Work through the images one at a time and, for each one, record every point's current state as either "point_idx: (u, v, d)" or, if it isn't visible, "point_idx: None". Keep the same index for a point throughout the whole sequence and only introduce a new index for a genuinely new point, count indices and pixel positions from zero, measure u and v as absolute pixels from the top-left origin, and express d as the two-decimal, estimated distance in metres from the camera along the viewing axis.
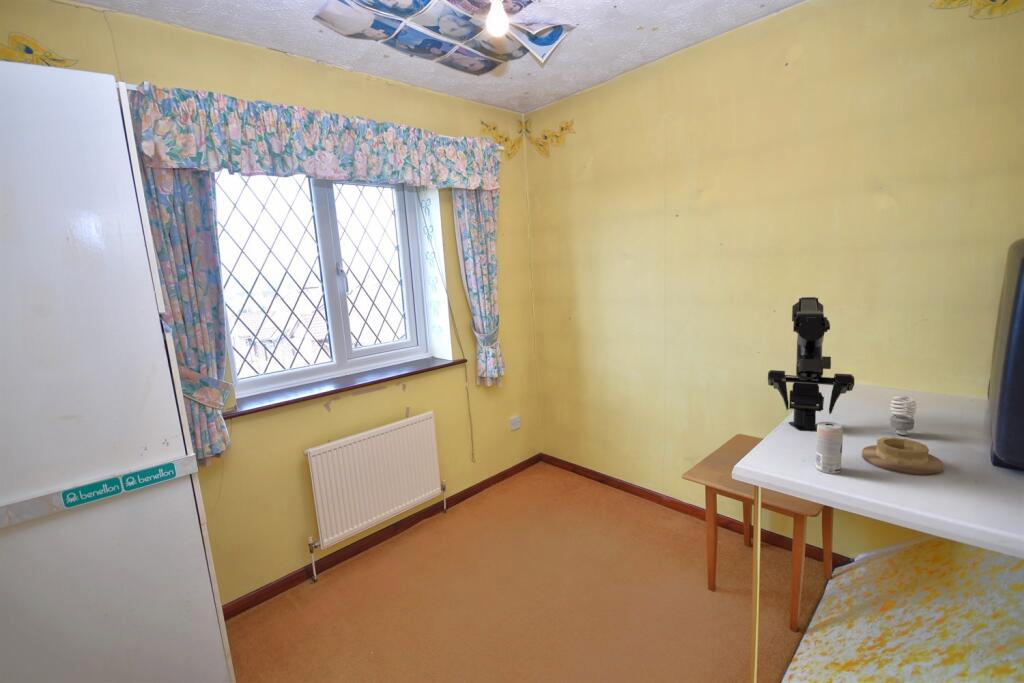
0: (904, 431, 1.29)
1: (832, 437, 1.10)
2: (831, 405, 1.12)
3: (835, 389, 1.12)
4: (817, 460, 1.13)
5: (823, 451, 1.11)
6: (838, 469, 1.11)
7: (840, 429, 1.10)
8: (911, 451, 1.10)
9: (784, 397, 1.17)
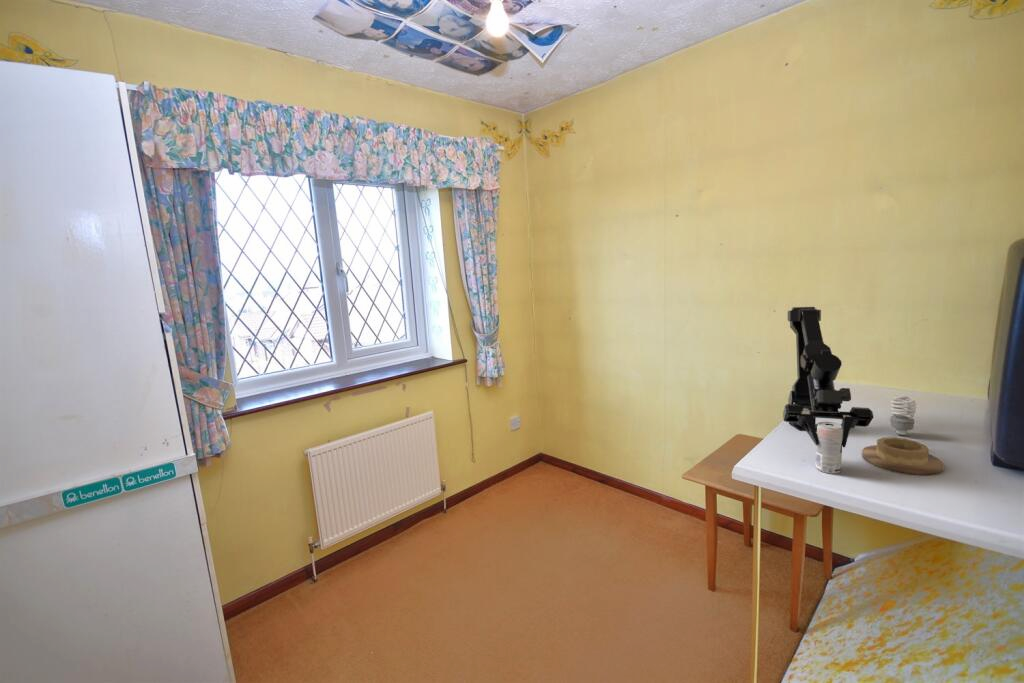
0: (904, 431, 1.29)
1: (832, 437, 1.10)
2: (844, 438, 1.10)
3: (846, 421, 1.11)
4: (817, 460, 1.13)
5: (823, 451, 1.11)
6: (838, 469, 1.11)
7: (840, 429, 1.10)
8: (911, 451, 1.10)
9: (812, 431, 1.13)
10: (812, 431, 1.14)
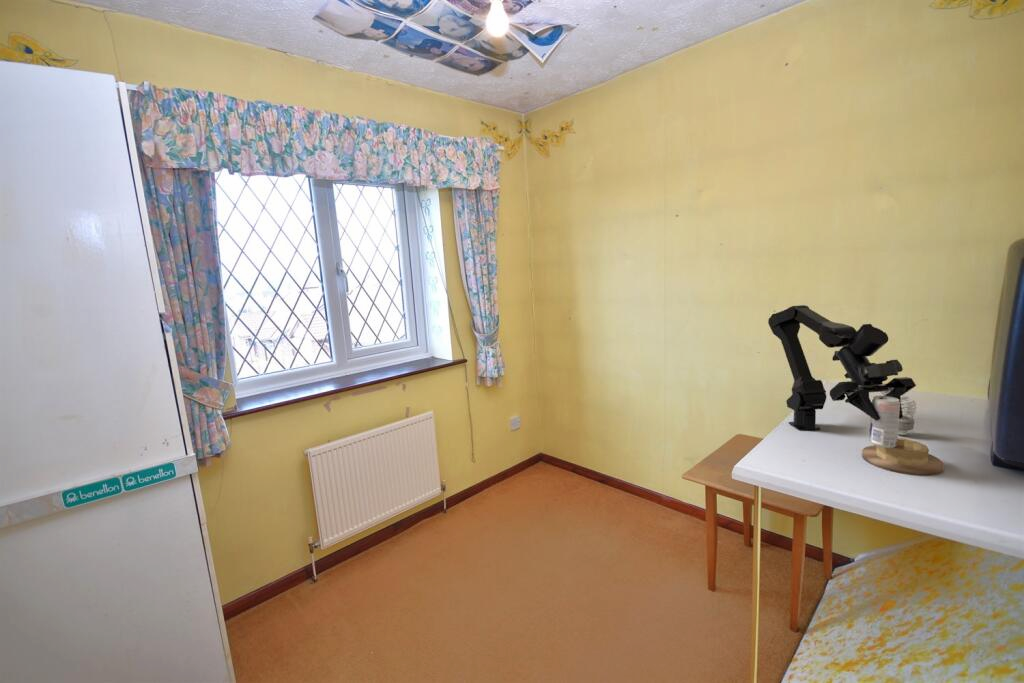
0: (904, 431, 1.29)
1: (895, 410, 1.08)
2: None
3: (896, 392, 1.11)
4: (876, 436, 1.11)
5: (885, 426, 1.09)
6: (896, 441, 1.10)
7: None
8: (911, 451, 1.10)
9: (871, 407, 1.11)
10: (871, 407, 1.11)
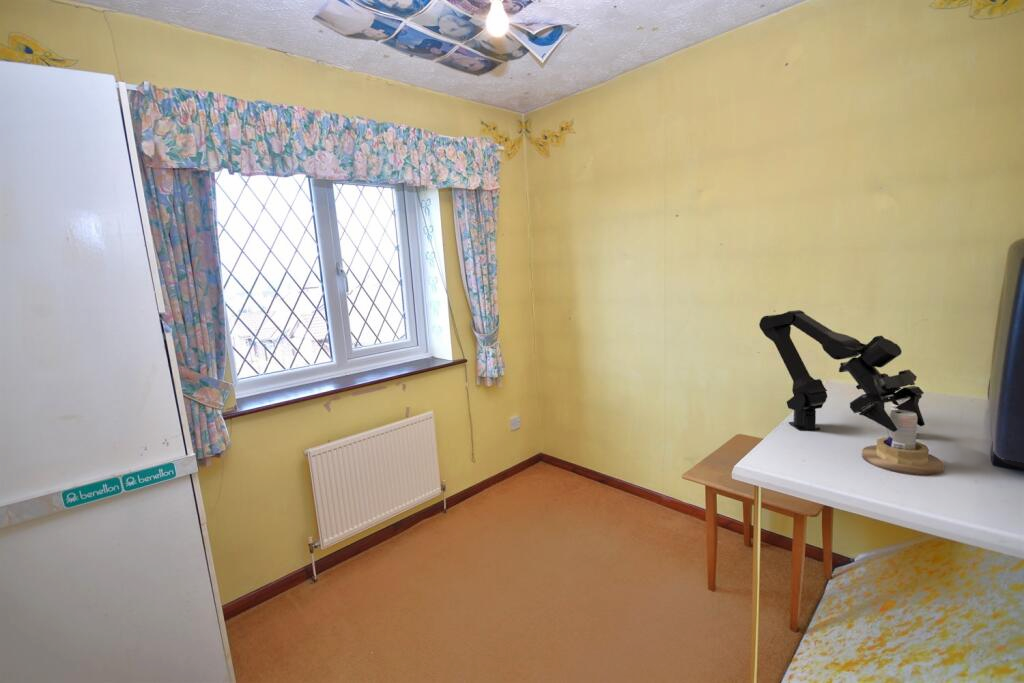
0: None
1: (915, 424, 1.11)
2: (921, 417, 1.14)
3: (915, 400, 1.15)
4: None
5: (906, 440, 1.12)
6: None
7: None
8: (911, 451, 1.10)
9: (888, 419, 1.12)
10: (888, 418, 1.12)
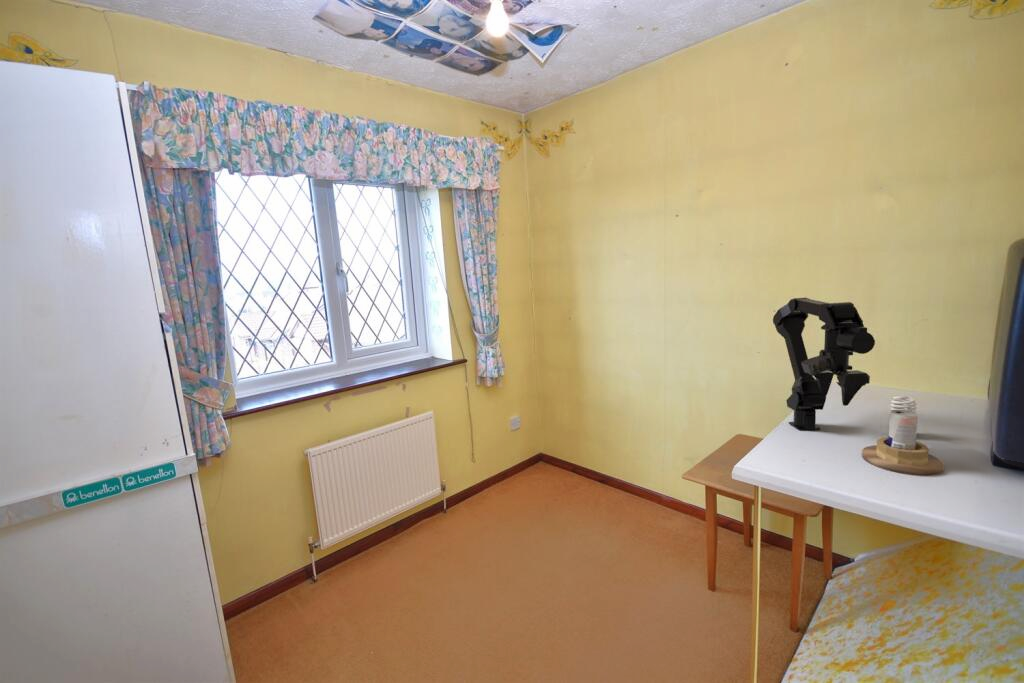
0: None
1: (915, 424, 1.11)
2: (842, 399, 1.22)
3: (840, 386, 1.20)
4: None
5: (906, 440, 1.12)
6: None
7: None
8: (911, 451, 1.10)
9: (819, 386, 1.31)
10: (819, 385, 1.31)
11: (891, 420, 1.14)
